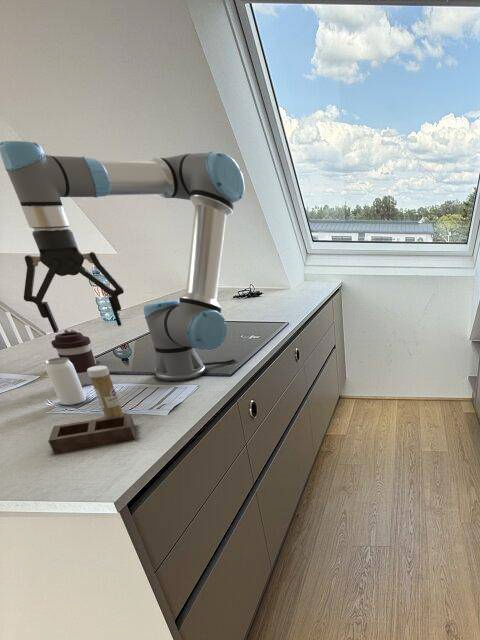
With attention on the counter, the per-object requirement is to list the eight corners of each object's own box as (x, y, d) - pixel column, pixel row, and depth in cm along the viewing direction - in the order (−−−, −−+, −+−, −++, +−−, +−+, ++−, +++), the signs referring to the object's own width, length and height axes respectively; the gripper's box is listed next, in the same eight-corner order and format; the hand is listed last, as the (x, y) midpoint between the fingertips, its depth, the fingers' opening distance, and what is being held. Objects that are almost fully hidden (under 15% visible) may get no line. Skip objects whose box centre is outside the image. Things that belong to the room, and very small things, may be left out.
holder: (134, 426, 116) (130, 413, 115) (135, 440, 110) (130, 427, 108) (59, 439, 110) (53, 425, 108) (54, 454, 103) (48, 440, 101)
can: (74, 406, 128) (57, 364, 121) (55, 404, 129) (36, 363, 122) (92, 398, 133) (76, 357, 127) (73, 396, 134) (56, 356, 128)
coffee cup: (61, 385, 143) (40, 336, 135) (90, 375, 151) (72, 329, 143) (83, 389, 140) (63, 339, 132) (111, 379, 148) (94, 332, 140)
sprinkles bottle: (121, 419, 120) (103, 369, 113) (102, 421, 119) (83, 370, 112) (126, 413, 124) (109, 364, 117) (108, 414, 123) (90, 365, 116)
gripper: (114, 226, 108) (143, 319, 119) (-15, 230, 98) (30, 330, 110) (114, 228, 102) (144, 325, 114) (-23, 232, 93) (25, 338, 104)
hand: (88, 328), depth 112 cm, fingers open, 13 cm apart
